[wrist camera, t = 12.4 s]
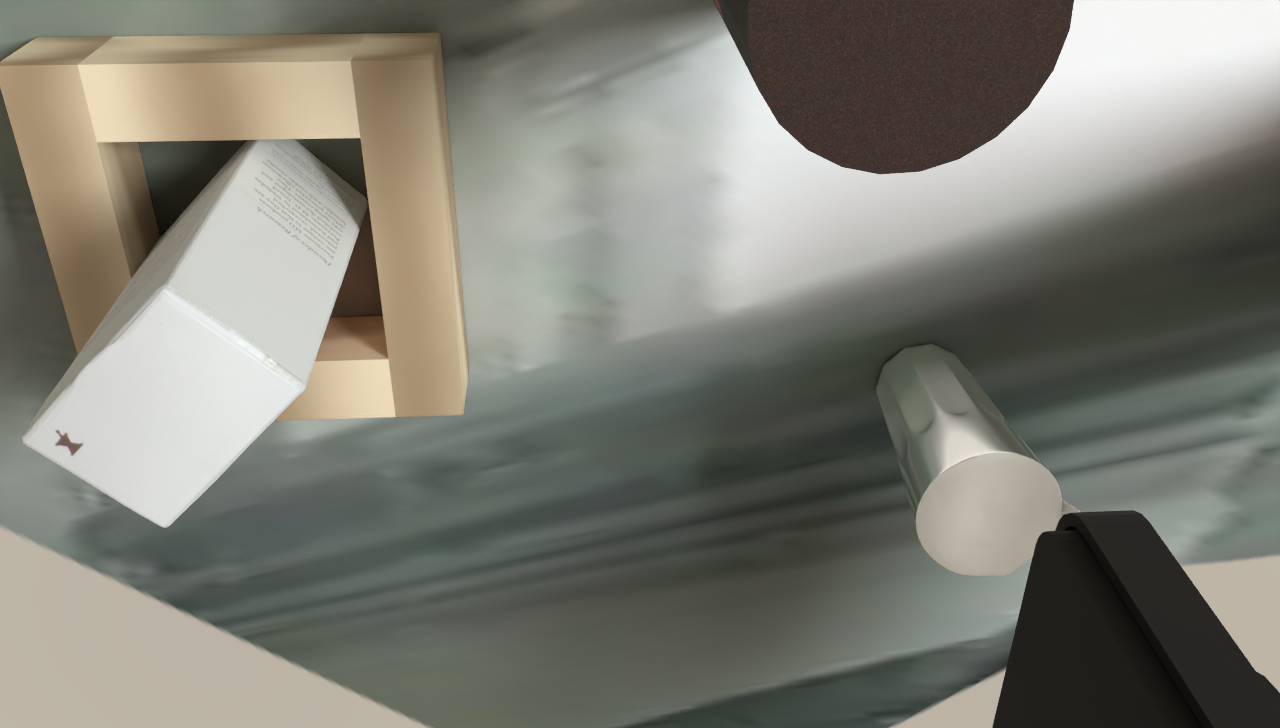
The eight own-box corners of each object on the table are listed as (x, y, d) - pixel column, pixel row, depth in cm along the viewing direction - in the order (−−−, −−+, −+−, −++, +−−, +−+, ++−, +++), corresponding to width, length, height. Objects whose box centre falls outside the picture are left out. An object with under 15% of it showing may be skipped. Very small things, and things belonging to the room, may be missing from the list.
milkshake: (1000, 417, 43) (1109, 597, 35) (861, 439, 43) (935, 624, 35) (1002, 314, 41) (1119, 480, 32) (855, 338, 41) (933, 509, 33)
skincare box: (265, 315, 39) (161, 538, 29) (158, 236, 37) (8, 443, 27) (378, 198, 37) (310, 392, 27) (271, 109, 35) (155, 281, 25)
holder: (440, 32, 35) (431, 60, 32) (469, 369, 41) (462, 415, 38) (36, 37, 34) (-6, 65, 31) (127, 378, 40) (98, 426, 37)
